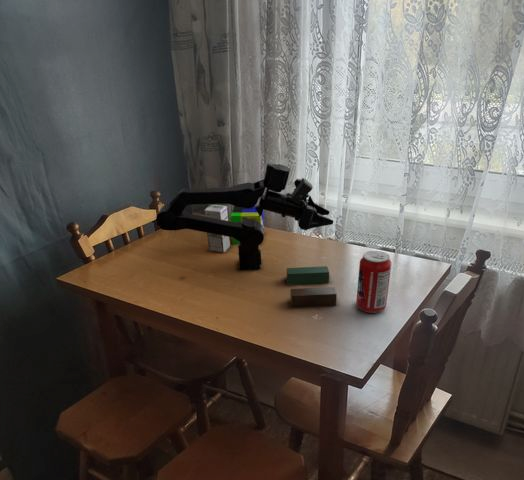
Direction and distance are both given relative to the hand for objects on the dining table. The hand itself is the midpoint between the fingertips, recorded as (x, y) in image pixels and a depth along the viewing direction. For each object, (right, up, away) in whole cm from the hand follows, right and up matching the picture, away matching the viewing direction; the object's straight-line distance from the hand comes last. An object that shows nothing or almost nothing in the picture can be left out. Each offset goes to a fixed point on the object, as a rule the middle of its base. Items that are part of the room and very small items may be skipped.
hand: (331, 217), depth 146 cm
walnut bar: (-7, -26, -12) cm, 29 cm away
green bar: (-7, -19, -1) cm, 20 cm away
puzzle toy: (-25, -1, +27) cm, 37 cm away
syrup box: (-35, -6, +21) cm, 41 cm away
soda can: (+9, -28, -15) cm, 32 cm away
